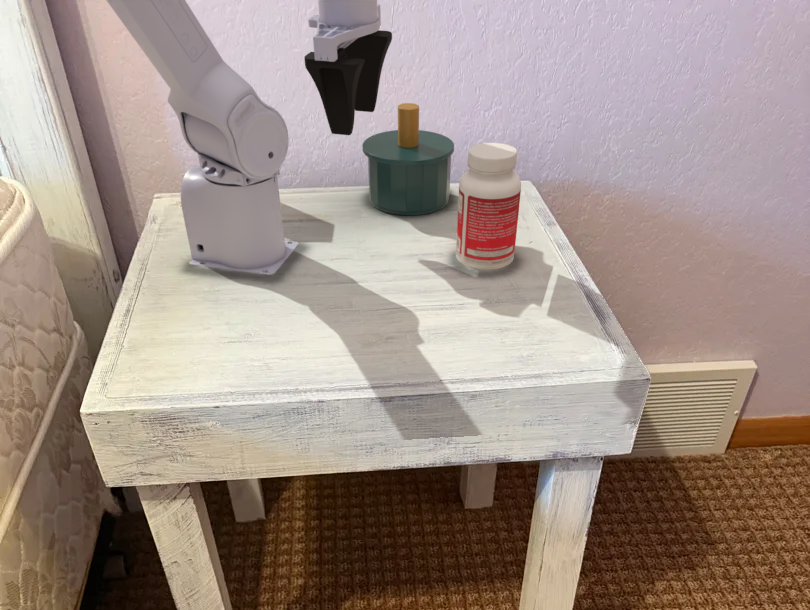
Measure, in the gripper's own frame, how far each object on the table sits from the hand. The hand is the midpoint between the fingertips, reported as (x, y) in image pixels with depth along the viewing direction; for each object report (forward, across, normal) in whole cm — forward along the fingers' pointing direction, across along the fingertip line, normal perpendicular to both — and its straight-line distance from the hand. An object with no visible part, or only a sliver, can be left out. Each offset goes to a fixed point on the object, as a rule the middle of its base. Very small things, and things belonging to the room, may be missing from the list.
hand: (353, 121), depth 81 cm
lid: (+4, -7, +4) cm, 9 cm away
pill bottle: (+11, +7, +16) cm, 21 cm away
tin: (+10, -7, +4) cm, 13 cm away
